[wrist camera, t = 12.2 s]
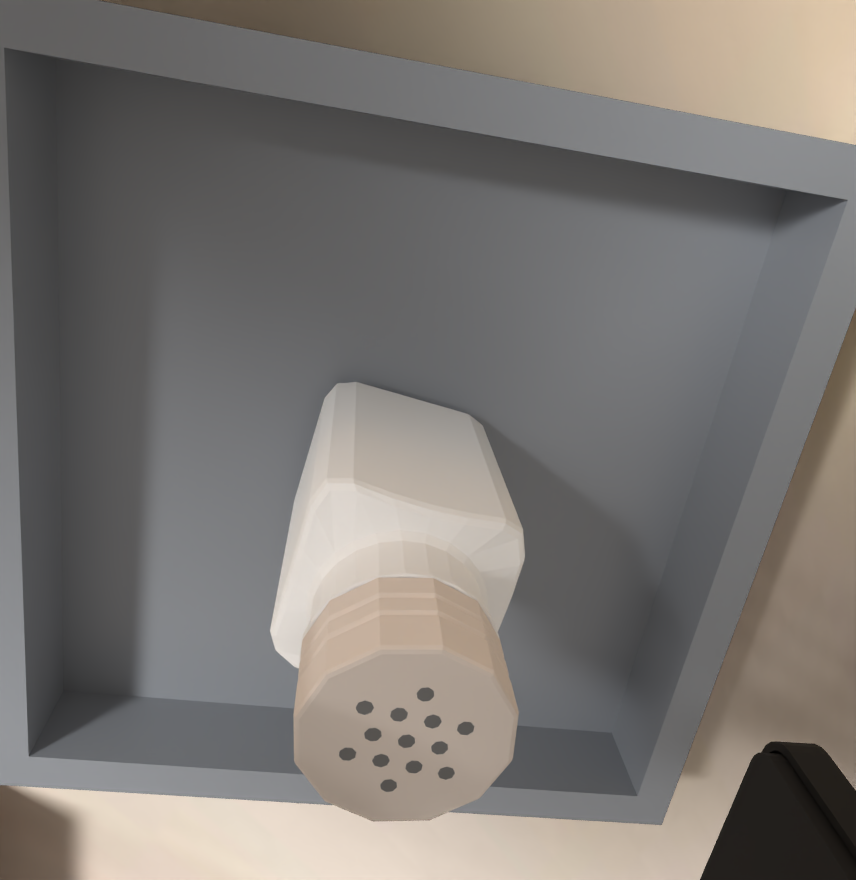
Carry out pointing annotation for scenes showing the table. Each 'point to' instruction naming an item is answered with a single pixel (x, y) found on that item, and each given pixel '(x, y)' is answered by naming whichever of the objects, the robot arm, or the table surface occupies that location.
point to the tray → (382, 384)
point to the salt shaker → (399, 607)
